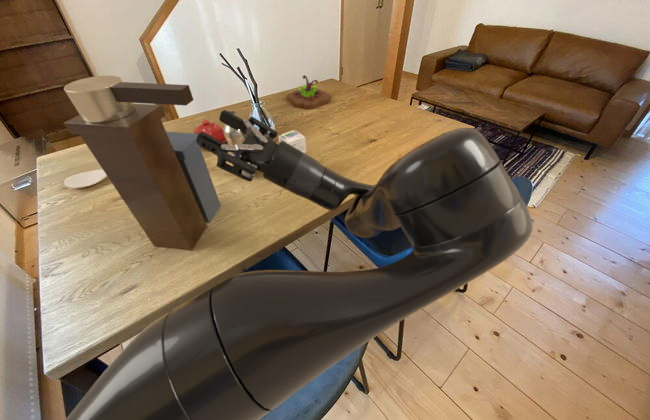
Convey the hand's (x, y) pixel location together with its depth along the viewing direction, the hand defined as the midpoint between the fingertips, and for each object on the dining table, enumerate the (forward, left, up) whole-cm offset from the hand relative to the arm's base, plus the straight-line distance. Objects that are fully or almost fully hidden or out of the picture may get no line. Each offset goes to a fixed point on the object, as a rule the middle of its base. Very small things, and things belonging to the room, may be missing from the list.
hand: (210, 125), depth 47 cm
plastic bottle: (+29, +11, -31) cm, 44 cm away
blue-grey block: (+9, +17, -31) cm, 37 cm away
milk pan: (0, +12, +1) cm, 12 cm away
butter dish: (+47, +31, -31) cm, 65 cm away
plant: (+93, +2, -31) cm, 98 cm away
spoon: (+24, +50, -31) cm, 64 cm away
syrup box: (+29, -6, -31) cm, 43 cm away
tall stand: (0, +17, -31) cm, 35 cm away
